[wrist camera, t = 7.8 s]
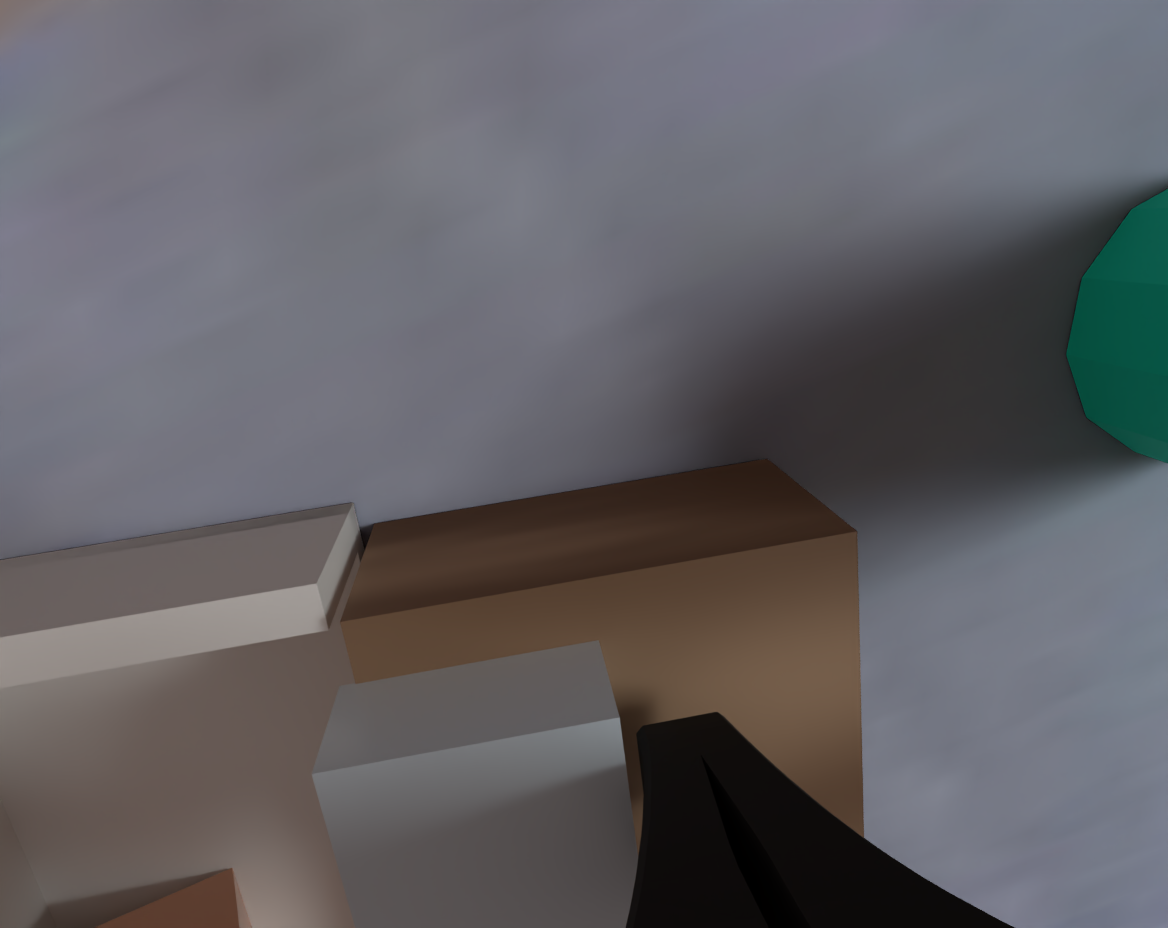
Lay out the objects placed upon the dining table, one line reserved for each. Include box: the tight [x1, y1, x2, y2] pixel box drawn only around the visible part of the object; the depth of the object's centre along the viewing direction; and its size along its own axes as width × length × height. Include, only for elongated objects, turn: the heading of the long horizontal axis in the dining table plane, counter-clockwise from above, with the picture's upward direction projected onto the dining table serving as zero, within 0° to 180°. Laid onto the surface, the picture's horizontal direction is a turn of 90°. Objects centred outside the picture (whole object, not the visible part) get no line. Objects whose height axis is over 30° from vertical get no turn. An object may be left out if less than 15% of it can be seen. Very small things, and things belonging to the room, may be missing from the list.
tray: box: [0, 503, 365, 928], centre depth 15 cm, size 13×9×4 cm, turn 7°
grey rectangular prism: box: [312, 640, 638, 928], centre depth 12 cm, size 4×4×2 cm
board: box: [340, 459, 864, 855], centre depth 16 cm, size 12×8×4 cm, turn 7°
